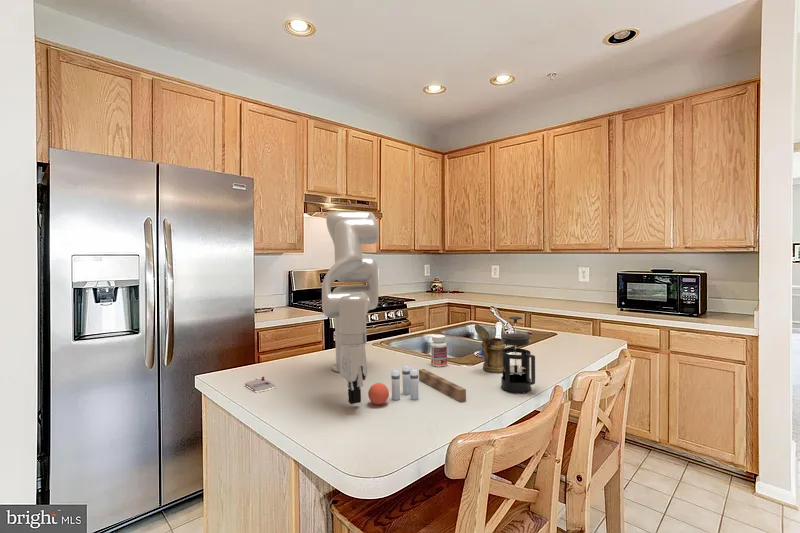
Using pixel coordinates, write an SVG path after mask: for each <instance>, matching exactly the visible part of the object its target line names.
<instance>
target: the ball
mask: <svg viewBox="0 0 800 533" xmlns="http://www.w3.org/2000/svg"><path fill="white" fill-rule="evenodd" d="M367 394H368V398H369V401H370V402H371V403H373V404H374V405H383V404H385V403H386V402H387V401H388V399H389V396H390V391H389V388H388V387H387V386H386V384H384V383H381V382H377V383H376V382H375V383H374V384H372V385H371V386H370V387H369V389H368V393H367Z"/></svg>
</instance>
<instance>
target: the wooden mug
mask: <svg viewBox="0 0 800 533" xmlns="http://www.w3.org/2000/svg"><path fill="white" fill-rule="evenodd" d="M474 331H475V332H476V333H477V335H478V336H479V337H481V339H482V341H481V344H482V353H483V355H484V357H483V358H484V362H483V365H482V370H483V371H484V372H487V371H488V373H491V372H493V373H492V374H501V373H502V372H503V369H502V368H503V356H501V350H503V349H506V346H505V345H506V344H503V340H502V338H501V337H500V338H499V337H490V334H489V332H488V331H487V329H486V328H485V327H483V326H482V325H480V324H478V323H476V324H474ZM502 374H503V373H502Z"/></svg>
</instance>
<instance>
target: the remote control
mask: <svg viewBox="0 0 800 533" xmlns="http://www.w3.org/2000/svg"><path fill="white" fill-rule="evenodd" d="M244 384H245V385H246V386H248V387H250V388H251V389H253V390H254V391H260V390H265V389H268V388H272V387H276V386H275V384H274V383H272V382H271V381H268V380H267V379H265V377H264V376H261V378H255V379H254V380H250V381H246V382H245V383H244ZM246 386H245V387H246ZM248 387H247V388H248ZM251 389H250V390H251ZM254 391H253V392H254Z"/></svg>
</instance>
